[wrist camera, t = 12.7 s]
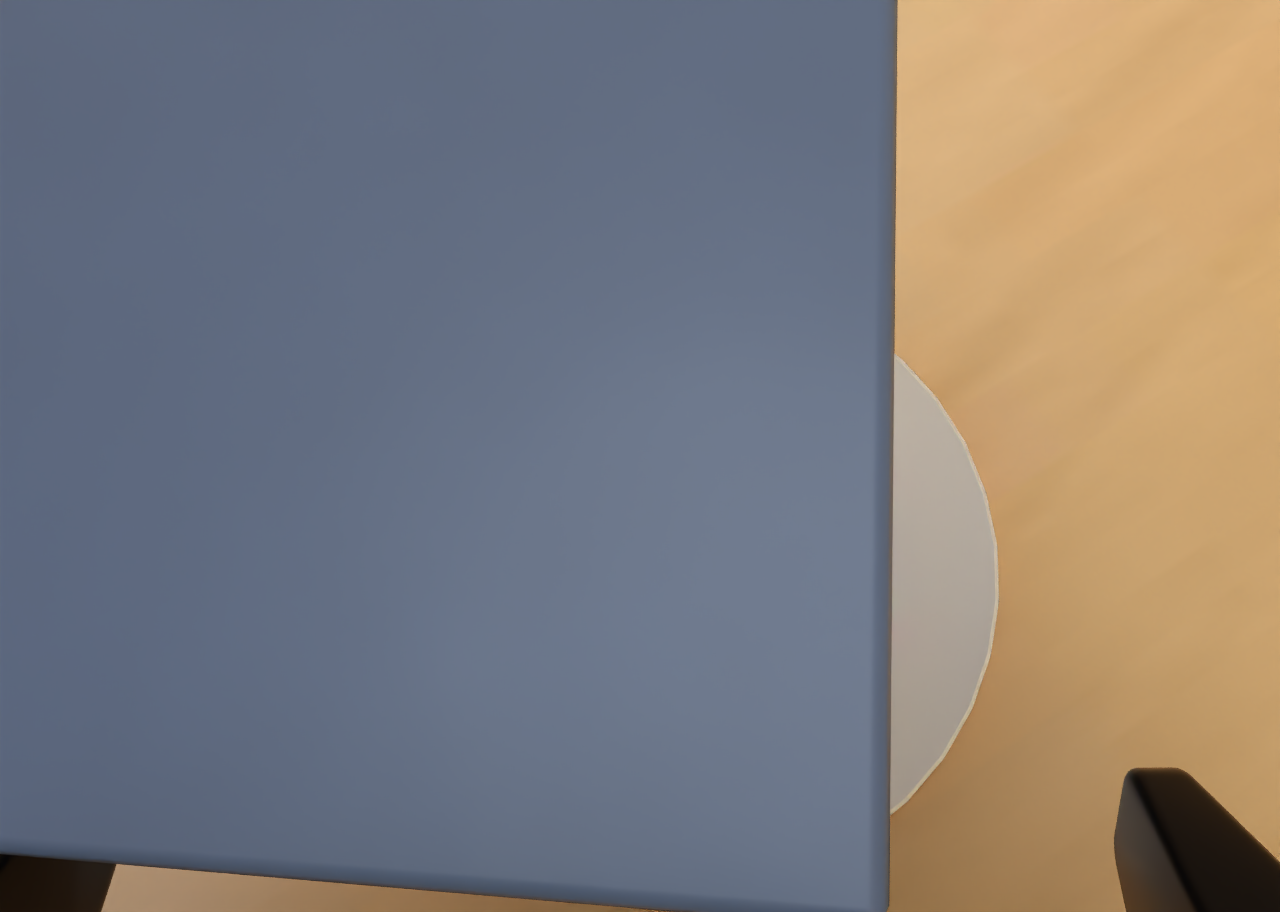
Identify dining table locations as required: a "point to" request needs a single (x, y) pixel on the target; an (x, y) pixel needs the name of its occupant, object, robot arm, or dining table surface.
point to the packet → (452, 444)
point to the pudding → (935, 584)
